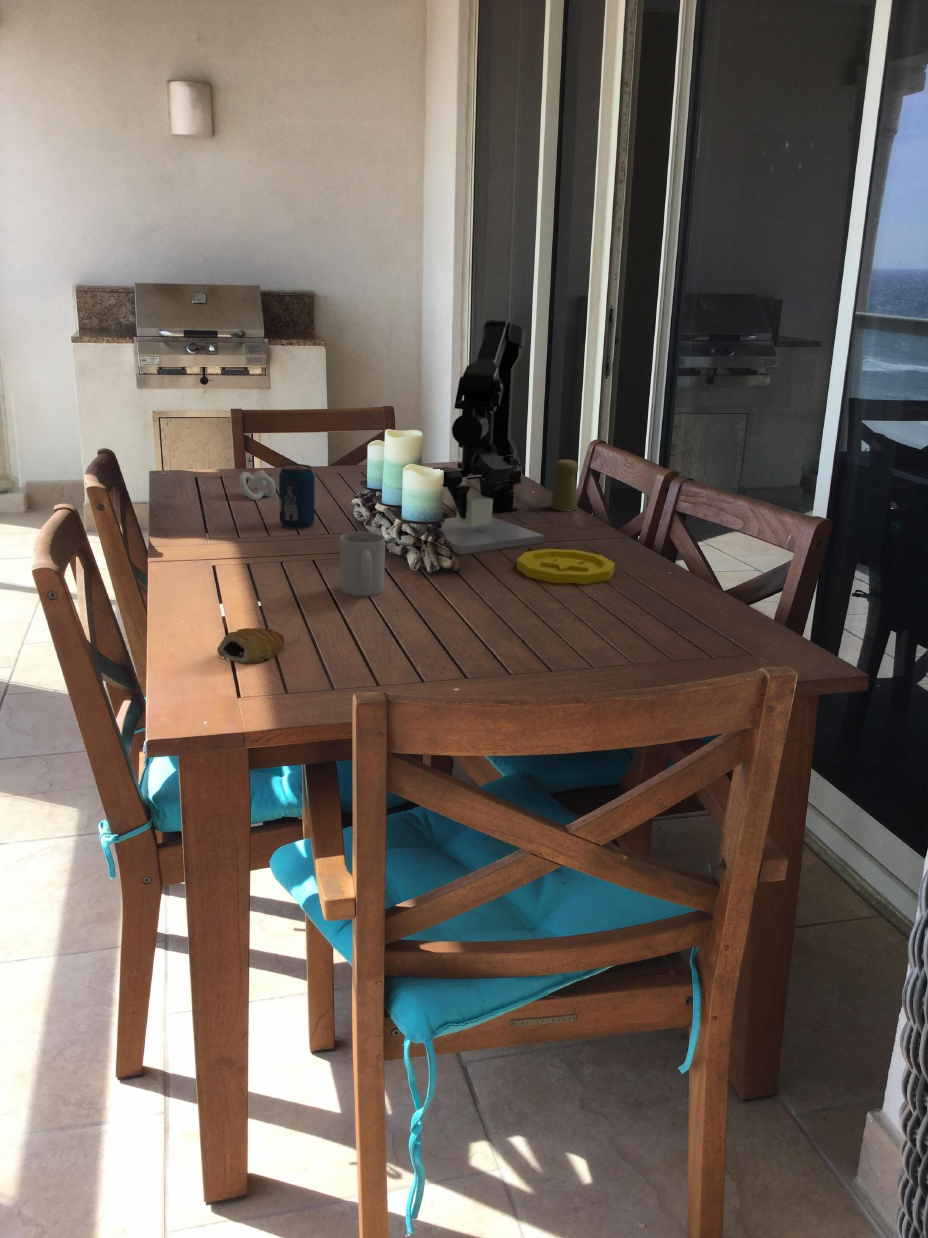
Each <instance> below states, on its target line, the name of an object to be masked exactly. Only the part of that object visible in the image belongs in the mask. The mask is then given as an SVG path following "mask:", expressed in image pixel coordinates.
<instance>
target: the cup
mask: <svg viewBox="0 0 928 1238" xmlns="http://www.w3.org/2000/svg"><path fill="white" fill-rule="evenodd" d="M339 543H340V544H339V545H340V548H339V549H340V550H339V551H340V552H339V554H340V555H339V556H340V557H339V559H340V560H339V562H340V563H339V564H340V565H339V566H340V567H339V569H340V570H339V587H340V590H341V592H342V593H343V594H345V595H347V594H349V595H348V596H351V595H352V596H351V597H359V596H362V597H365V598H366V597H373V596H374V597H375V596H378V595H380V594H382V593H383V591H384V589H385V569H386V568H385V566H386V563H385V562H386V558H385V557H386V537H385V535H383V534H380V533H377V532H376V533H375V532H368V531H356V532H354V531H352V532H347V533H344V534H342V535H340V541H339Z"/></svg>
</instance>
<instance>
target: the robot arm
mask: <svg viewBox="0 0 928 1238" xmlns="http://www.w3.org/2000/svg"><path fill="white" fill-rule="evenodd" d="M526 333H527V332H526V330H525V328H524V327H523V326H521V325H520V324H513V323H512V322H511V321H508V320H501V319H500V320H499V319H490V320H486V321H485V323H484V324H483V325H482V333H481V334H482V336H481V345H480V347H479V350H478V353H477V357H476V359H475V361H474V362H472V363H470V364H468V365H467V366H466V367H465V370H464V371H463V373H462V375H461V376H460V377H459V380H458V386H457V391H456V395H455V396H456V397H455V402H454V409H455V410H461V414H460V416H458V417H457V418H456V419H455V420H454V421H453V424H452V426H451V433H452V436H453V439H454V440H455V441H456V443H458V448H461V449H462V450H461V451H462V453H461V462H457V469H456V468H452V467H450V466H441V467H440V466H437V467H432V468H433V469H440V470H443V471H444V484H443V488H447V489H448V492H449V494H450V495H451V497H452V499H453V503H454V505H455V508H456V511H457V510H458V512H459V515H460V517H461V518H462V519H465V517H466V507H467V495H468V493H469V491H470V490H471V488H472V486H469V485H468V484H467V482H468V480H476V479H479V480H478V481H479V488H480V489H479V491H480V495H482V496H485V497H488V498H491V499H493V507H492V513H501V512H503V513H504V512H511V511H518V506H514V500H515V499H514V498H515V497H514V495H515V490H514V489H515V488H514V487H515V485H518V484H519V485H520V484H522V481H523V479H522V478H523V475H522V474H523V472H522V469H523V468H522V463H521V461H520V456H518V446H517V445H516V443H515V441H514V440H513V437H512V435H511V434H512V433H511V431H512V427H511V426H512V410H513V395H514V394H513V393H514V391H513V389H514V388H513V387H514V376H515V375H514V370H515V366H516V365H517V363H518V361H519V360H520V359H521V357H522V355H523V349H525V347H526V340H527V334H526ZM459 469H460V470H459Z"/></svg>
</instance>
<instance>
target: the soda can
mask: <svg viewBox="0 0 928 1238" xmlns="http://www.w3.org/2000/svg"><path fill="white" fill-rule="evenodd" d="M278 488H279V492H278V495H279V496H278V497H279V522H280V523H281V525H282V527H284V529H289V530H290V529H291V530H305V529H309V528H311V527H312V526H313V524H314V522H315V520H316V519H315V517H316V516H315V514H316V513H315V512H316V511H315V507H316V506H315V500H316V499H315V497H316V496H315V474H314V472H313V470H312V466H311V465H307V464H303V463H294V464H291V463H289V464H284V465H282V466H281V470H280V472H279V475H278Z"/></svg>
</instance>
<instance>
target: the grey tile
mask: <svg viewBox="0 0 928 1238" xmlns="http://www.w3.org/2000/svg"><path fill="white" fill-rule="evenodd" d="M456 518H457V516H456V517H449V518H444V519H445V522H444V524H443V525H442V531H443V533H444V535H445V537H446V538H447V539H448V541H449V542H450V544H451V546H452V548H453V550H454V552H453V553H456V554H458V555H467V554H469V555H470V554H475V553H481V552H482V553H483V552H488V551H490V552H491V551H496V550H503V549H509V548H516V547H517V548H518V547H523V546H532V545H538V544H544V543H545V534H543V533H542V534H541V533H539V532H536V531H534V530H530V529H528V528H525V527H522V526H518V525H516V524H513V523H511V522H507V521H506V520H505V521H504V520H501V519H498V518H496V517H493V516H492V524H487V525H479V526H472V527H471V526H468V525H466V524H463V523H460V522H458V521H456Z"/></svg>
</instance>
